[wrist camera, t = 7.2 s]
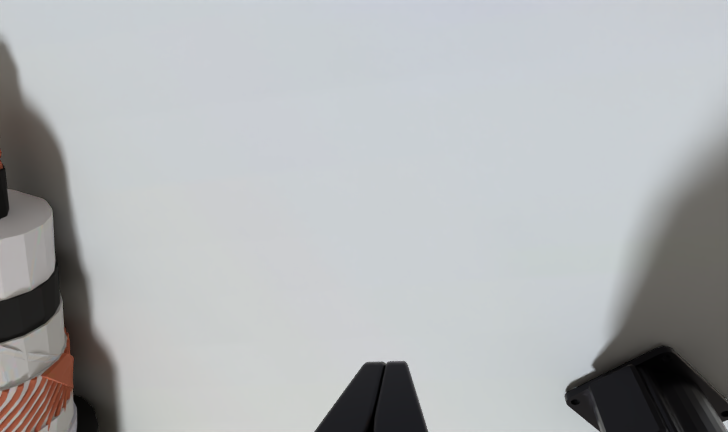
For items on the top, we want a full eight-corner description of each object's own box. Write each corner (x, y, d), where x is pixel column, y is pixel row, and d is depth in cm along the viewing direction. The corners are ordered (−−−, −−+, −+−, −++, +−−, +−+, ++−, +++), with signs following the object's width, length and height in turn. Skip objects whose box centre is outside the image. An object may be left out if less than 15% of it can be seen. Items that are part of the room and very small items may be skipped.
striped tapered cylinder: (107, 103, 26) (69, 166, 18) (107, 458, 40) (86, 584, 32) (-117, 70, 22) (-296, 132, 14) (-30, 477, 36) (-95, 627, 28)
